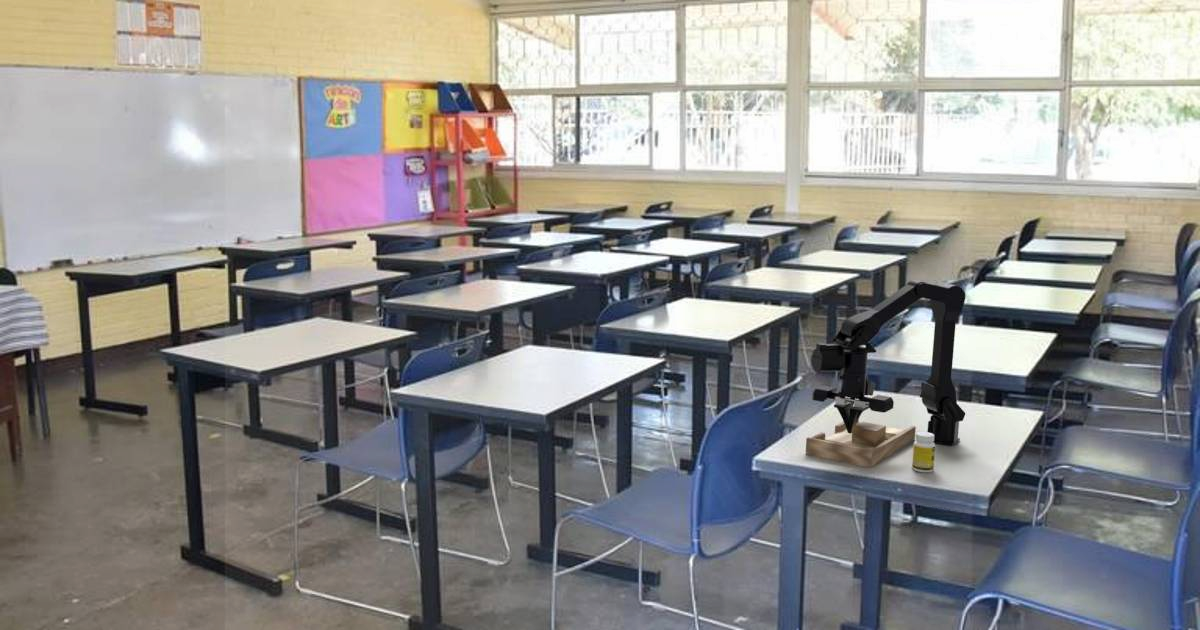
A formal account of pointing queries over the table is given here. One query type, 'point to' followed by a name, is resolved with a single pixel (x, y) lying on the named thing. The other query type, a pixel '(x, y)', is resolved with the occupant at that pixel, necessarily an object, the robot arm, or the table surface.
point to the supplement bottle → (923, 452)
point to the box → (857, 446)
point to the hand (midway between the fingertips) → (850, 433)
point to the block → (868, 434)
